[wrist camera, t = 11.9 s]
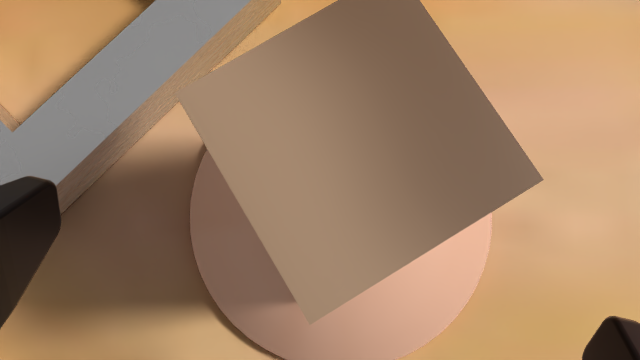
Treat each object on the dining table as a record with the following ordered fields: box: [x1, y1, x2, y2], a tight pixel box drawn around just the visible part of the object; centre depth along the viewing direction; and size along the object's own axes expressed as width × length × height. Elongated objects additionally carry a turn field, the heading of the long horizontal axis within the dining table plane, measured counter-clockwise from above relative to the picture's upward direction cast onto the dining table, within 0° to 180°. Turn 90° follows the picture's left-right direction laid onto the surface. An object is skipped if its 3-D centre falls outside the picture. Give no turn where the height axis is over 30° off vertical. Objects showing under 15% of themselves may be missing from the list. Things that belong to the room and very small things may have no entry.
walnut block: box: [175, 0, 543, 325], centre depth 15 cm, size 4×4×11 cm
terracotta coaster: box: [190, 149, 492, 360], centre depth 20 cm, size 11×11×1 cm
